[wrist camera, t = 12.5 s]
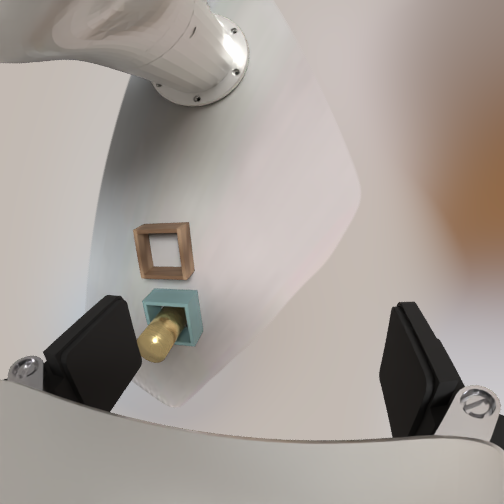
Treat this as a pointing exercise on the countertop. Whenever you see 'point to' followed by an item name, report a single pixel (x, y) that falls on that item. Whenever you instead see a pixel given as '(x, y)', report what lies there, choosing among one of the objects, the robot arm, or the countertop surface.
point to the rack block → (177, 299)
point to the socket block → (146, 256)
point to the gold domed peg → (162, 333)
